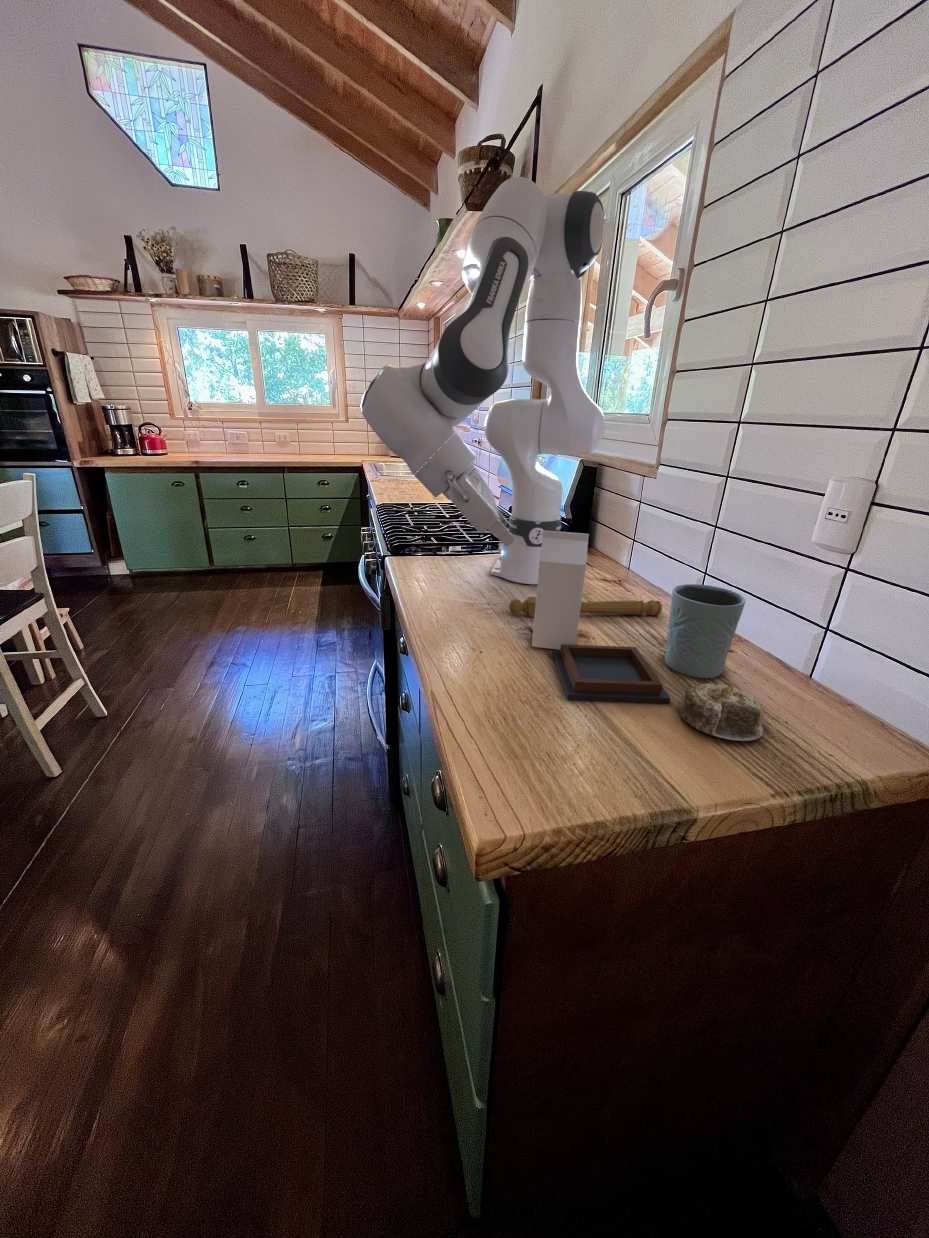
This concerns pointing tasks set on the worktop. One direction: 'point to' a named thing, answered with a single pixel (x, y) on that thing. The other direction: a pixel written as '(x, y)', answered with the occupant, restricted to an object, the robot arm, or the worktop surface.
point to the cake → (723, 712)
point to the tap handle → (596, 607)
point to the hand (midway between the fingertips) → (508, 535)
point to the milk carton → (559, 589)
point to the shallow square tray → (607, 674)
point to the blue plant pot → (701, 629)
